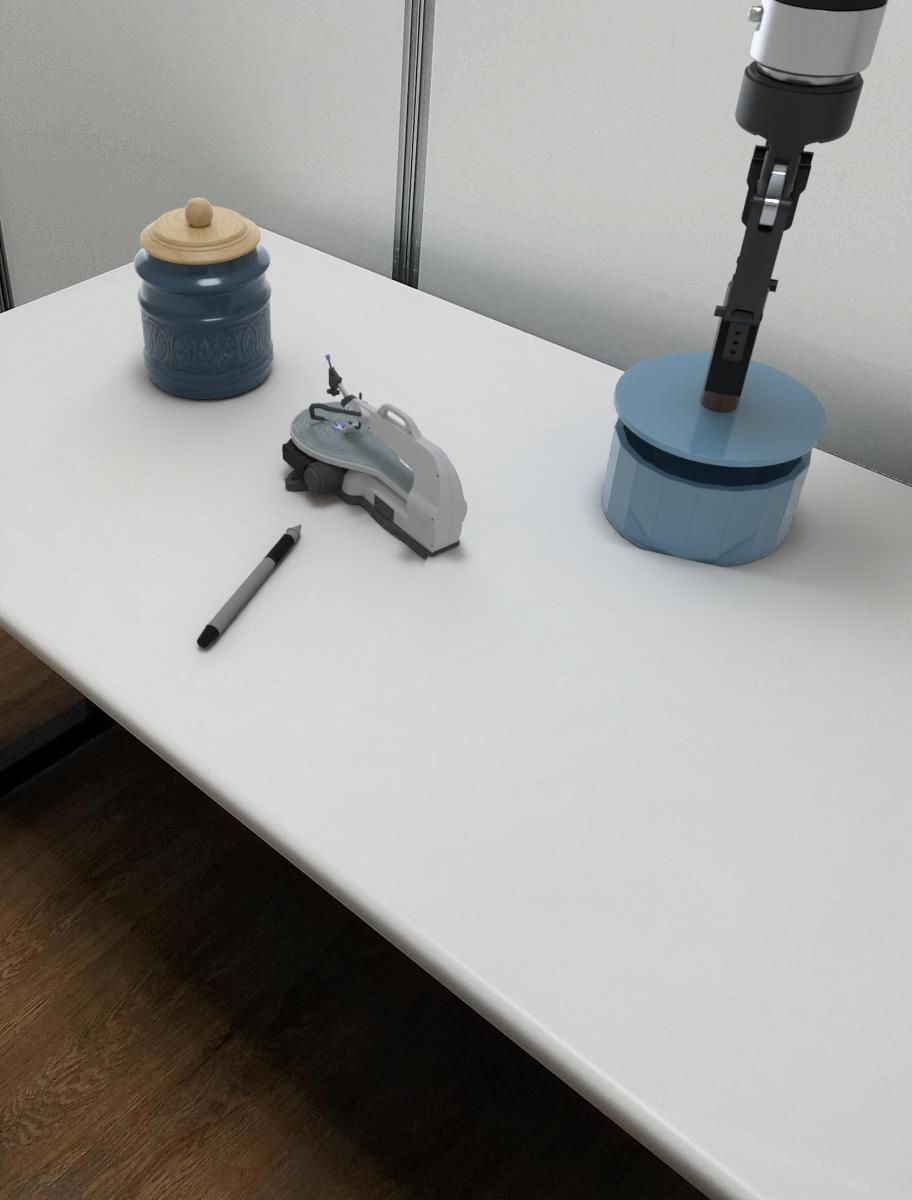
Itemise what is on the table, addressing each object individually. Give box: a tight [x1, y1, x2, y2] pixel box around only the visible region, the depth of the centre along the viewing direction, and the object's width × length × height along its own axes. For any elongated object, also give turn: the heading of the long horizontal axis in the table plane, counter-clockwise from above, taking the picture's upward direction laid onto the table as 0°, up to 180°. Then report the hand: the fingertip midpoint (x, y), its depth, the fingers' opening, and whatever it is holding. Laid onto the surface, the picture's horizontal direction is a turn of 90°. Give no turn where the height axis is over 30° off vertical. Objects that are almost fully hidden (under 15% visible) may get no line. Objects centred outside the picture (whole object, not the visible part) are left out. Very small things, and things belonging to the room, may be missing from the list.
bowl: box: [601, 415, 813, 567], centre depth 99 cm, size 15×16×8 cm
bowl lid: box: [613, 279, 828, 467], centre depth 92 cm, size 16×16×11 cm
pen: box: [196, 524, 302, 649], centre depth 94 cm, size 1×16×1 cm, turn 154°
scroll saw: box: [281, 353, 468, 561], centre depth 100 cm, size 20×11×12 cm
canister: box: [133, 197, 274, 400], centre depth 114 cm, size 13×13×18 cm
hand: (725, 379), depth 93 cm, fingers closed on bowl lid, 3 cm apart
